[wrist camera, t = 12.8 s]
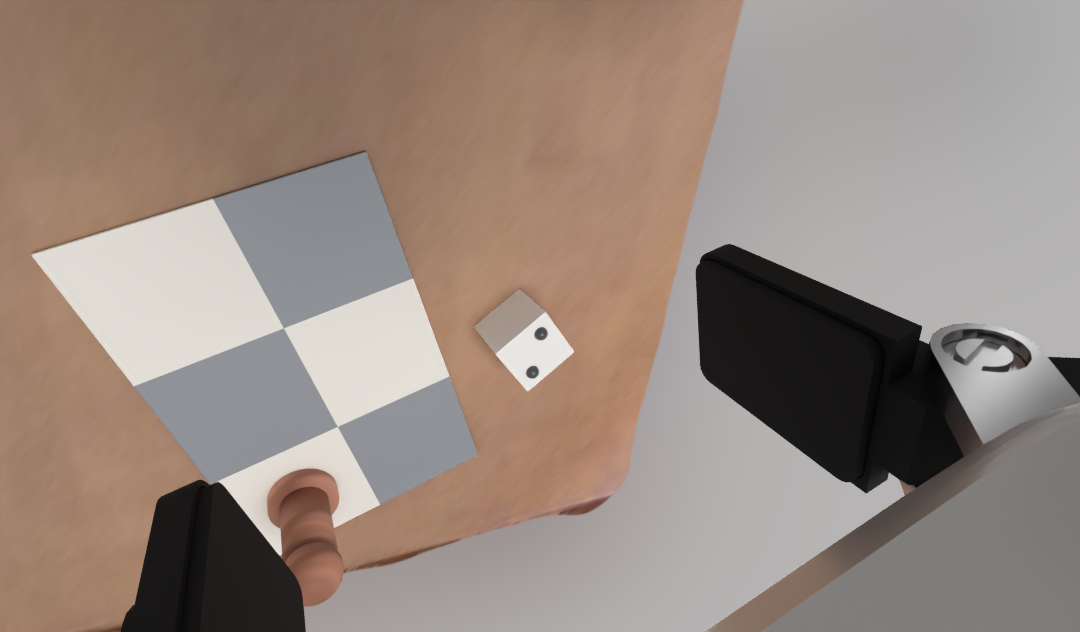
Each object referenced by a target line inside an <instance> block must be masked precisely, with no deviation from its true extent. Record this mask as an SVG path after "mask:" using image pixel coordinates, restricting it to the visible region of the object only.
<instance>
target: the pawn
mask: <svg viewBox="0 0 1080 632" xmlns="http://www.w3.org/2000/svg"><path fill="white" fill-rule="evenodd" d="M338 504H339V493H338V488H337V483H336V481H335V479H334V478H333V477H332V476H331V475H330V474H329V473H327V472H325V471H322V470H319V469H301V470H297V471H294V472H291V473H289V474H287V475H285V476H283V477H282V478H280V479H279V480H278V481H277V482H276V483H275V484H274V485H273V486H272V488H271V489H270V491H269V494H268V497H267V510H268V517H269V519H270V521H271V522H272V523H273V524H274V525H275V526H276V527H278V528H280V530H281V546H282V560H283V561H284V562H285V563H286V565H287V566H288V567H289V568H290V570H291V571H292V572H293V574H294V575H295V576H296V578H297V580H298V582H299V585H300V587H301V591H302V596H303V606H314V605H317V604H320V603H322V602H324V601H326V600H327V599H328V598H330V597H331V596H332V595H333V594H334V593H335V591H336V590H337V588H338V587H339V585H340V583H341V581H342V577H343V572H344V565H343V560H342V557H341V555H340V553H339V552H338V551H337V543H336V537H335V532H334V526H333V520H332V515H333V513H334V512H335V511H336V509H337V507H338Z"/></svg>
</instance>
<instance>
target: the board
mask: <svg viewBox="0 0 1080 632" xmlns="http://www.w3.org/2000/svg"><path fill="white" fill-rule="evenodd" d="M32 257H33V258H34V259H35V260H36V262H37V263H38V264H39V266H40V267H41V268H42V269H43V271H44V272H45V273H46V274H47V276H48V277H49V278H50V280H51V281H52V282H53V283H54V285H55V286H56V287H57V289H58V290H59V291H60V292H61V294H62V295H63V296H64V297H65V299H66V300H67V301H68V303H69V304H70V305H71V306H72V308H73V309H74V310H75V312H76V313H77V314H78V315H79V317H80V318H81V319H82V320H83V322H84V323H85V324H86V326H87V327H88V328H89V329H90V331H91V332H92V333H93V335H94V336H95V337H96V338H97V340H98V341H99V342H100V343H101V345H102V346H103V347H104V349H105V350H106V351H107V352H108V354H109V355H110V356H111V358H112V359H113V360H114V361H115V363H116V364H117V365H118V366H119V368H120V369H121V370H122V372H123V373H124V374H125V375H126V377H127V378H128V379H129V381H130V382H131V383H132V384H133V386H134V387H135V388H136V390H137V391H138V392H139V393H140V395H141V396H142V397H143V398H144V400H145V401H146V402H147V404H148V405H149V406H150V407H151V409H152V410H153V411H154V413H155V414H156V415H157V416H158V418H159V419H160V420H161V421H162V423H163V424H164V425H165V427H166V428H167V429H168V430H169V432H170V433H171V434H172V436H173V437H174V438H175V439H176V441H177V442H178V443H179V444H180V446H181V447H182V448H183V450H184V451H185V452H186V453H187V455H188V456H189V457H190V459H191V460H192V461H193V462H194V464H195V465H196V466H197V467H198V469H199V470H200V471H201V473H202V474H203V475H204V476H205V478H206V479H207V480H208V482H209V483H210V484H213V483H215V482H220V483H221V484H223V485H224V487H225V488H226V489H227V490H228V491H229V493H230V494H231V495H232V496H233V498H234V499H235V500H236V502H237V503H238V504H239V505H240V507H241V508H242V509H243V510H244V512H245V513H246V514H247V515H248V517H249V518H250V519H251V520H252V522H253V523H254V524H255V526H256V527H257V528H258V529H259V531H260V532H261V533H262V534H263V536H264V537H265V538H266V539H267V541H268V542H269V543H270V544H271V546H272V547H273V548H274V550H275V551H276V552H277V553H278V555H279V556H280V555H282V546H281V530H280V528H278V527H276V526H275V525H274V524H273V523H272V522H271V521H270V519H269V517H268V510H267V497H268V494H269V491H270V489H271V488H272V486H273V485H274V484H275V483H276V482H277V481H278V480H279V479H280V478H282V477H283V476H285V475H287V474H289V473H291V472H294V471H297V470H301V469H319V470H322V471H325V472H327V473H329V474H330V475H331V476H332V477H333V478H334V479H335V481H336V483H337V488H338V493H339V504H338V507H337V509H336V511H335V512H334V513H333V515H332V520H333V526H334V528H335V527H337V526H339V525H341V524H343V523H345V522H347V521H349V520H351V519H353V518H355V517H357V516H359V515H361V514H363V513H365V512H367V511H369V510H371V509H373V508H375V507H377V506H378V505H380V504H382V503H384V502H386V501H388V500H390V499H392V498H394V497H396V496H398V495H400V494H402V493H404V492H406V491H408V490H410V489H412V488H414V487H416V486H418V485H420V484H422V483H424V482H426V481H428V480H430V479H432V478H434V477H436V476H438V475H440V474H442V473H444V472H446V471H448V470H450V469H452V468H454V467H456V466H458V465H460V464H461V463H463V462H465V461H467V460H469V459H471V458H473V457H475V456H477V455H478V452H477V450H476V447H475V444H474V442H473V439H472V436H471V434H470V431H469V428H468V425H467V423H466V420H465V417H464V415H463V412H462V409H461V406H460V404H459V401H458V398H457V396H456V393H455V390H454V388H453V385H452V382H451V379H450V377H449V374H448V371H447V369H446V366H445V363H444V360H443V358H442V355H441V352H440V350H439V347H438V344H437V342H436V339H435V336H434V333H433V331H432V328H431V325H430V323H429V320H428V317H427V314H426V312H425V309H424V306H423V304H422V301H421V298H420V296H419V293H418V290H417V287H416V285H415V282H414V279H413V277H412V274H411V271H410V268H409V266H408V263H407V260H406V258H405V255H404V252H403V250H402V247H401V244H400V241H399V239H398V236H397V233H396V231H395V228H394V225H393V222H392V220H391V217H390V214H389V212H388V209H387V206H386V204H385V201H384V198H383V195H382V193H381V190H380V187H379V185H378V182H377V179H376V176H375V174H374V171H373V168H372V166H371V163H370V160H369V158H368V155H367V152H366V151H364V152H361V153H357V154H354V155H351V156H348V157H344V158H341V159H338V160H335V161H331V162H328V163H325V164H321V165H318V166H315V167H312V168H308V169H305V170H302V171H299V172H295V173H292V174H289V175H286V176H282V177H279V178H276V179H273V180H269V181H266V182H263V183H260V184H256V185H253V186H250V187H246V188H243V189H240V190H237V191H233V192H230V193H227V194H224V195H220V196H217V197H214V198H211V199H207V200H204V201H201V202H198V203H194V204H191V205H188V206H185V207H181V208H178V209H175V210H171V211H168V212H165V213H162V214H158V215H155V216H152V217H149V218H145V219H142V220H139V221H136V222H132V223H129V224H126V225H123V226H119V227H116V228H113V229H110V230H106V231H103V232H100V233H96V234H93V235H90V236H87V237H83V238H80V239H77V240H74V241H70V242H67V243H64V244H61V245H57V246H54V247H51V248H48V249H44V250H41V251H38V252H35V253H33V254H32Z"/></svg>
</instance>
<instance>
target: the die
mask: <svg viewBox="0 0 1080 632" xmlns="http://www.w3.org/2000/svg"><path fill="white" fill-rule="evenodd" d="M474 328H475V329H476V331H477V332H478V333H479V334H480V336H481V337H482V338H483V339H484V341H485V342H486V343H487V344H488V346H489V347H490V348H491V349H492V351H493V352H494V353H495V354H496V356H497V357H498V358H499V359H500V360H501V361H502V362H503V364H504V365H505V366H506V367H507V368H508V369H509V371H510V372H511V373H512V374H513V375H514V376H515V378H516V379H517V380H518V381H519V382H520V383H521V384H522V386H523V387H524V388H525V389H526V390H527V391H529V390H530V389H531V388H533V387H534V386H535V385H536V384H537V383H538V382H540V381H541V380H542V379H543V378H544V377H545V376H547V375H548V374H549V373H550V372H551V371H552V370H554V369H555V368H556V367H557V366H558V365H559V364H561V363H562V362H563V361H564V360H565V359H566V358H568V357H569V356H570V355H571V354H572V353H573V352H574V351H573V349H572V348H571V347H570V345H569V344H568V342H567V341H566V340H565V338H564V337H563V335H562V334H561V333H560V331H559V330H558V328H557V327H556V326H555V324H554V323H553V322H552V320H551V319H550V317H549V316H548V315H547V313H546V312H545V311H544V310H543V309H542V308H541V307H540V306H538V305H537V304H536V303H535V302H534V301H533V300H532V299H531V298H529V297H528V296H527V295H526V294H525V293H524V292H523V291H522V290H521V289H518V290H517V291H516V292H515V293H513V294H512V295H511V296H510V297H509V298H507V299H506V300H505V301H504V302H503V303H501V304H500V305H499V306H498V307H497V308H495V309H494V310H493V311H492V312H491V313H489V314H488V315H487V316H486V317H485V318H483V319H482V320H481V321H480V322H479V323H477V324H476V325H475V326H474Z"/></svg>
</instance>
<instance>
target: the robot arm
mask: <svg viewBox="0 0 1080 632" xmlns="http://www.w3.org/2000/svg"><path fill="white" fill-rule="evenodd" d="M696 288H697V307H698V329H699V348H700V366H701V370H702V373H703V375H704V376H705V378H706V379H707V380H708V381H709V382H710V383H712V384H713V385H714V386H716V387H717V388H718V389H719V390H721V391H722V392H724V393H725V394H726V395H728V396H729V397H730V398H731V399H733V400H734V401H735V402H737V403H738V404H739V405H741V406H742V407H743V408H745V409H746V410H747V411H749V412H750V413H751V414H753V415H754V416H755V417H757V418H758V419H759V420H761V421H762V422H763V423H765V424H766V425H767V426H768V427H770V428H771V429H773V430H774V431H775V432H777V433H778V434H779V435H780V436H782V437H783V438H784V439H786V440H787V441H788V442H790V443H791V444H792V445H794V446H795V447H796V448H798V449H799V450H800V451H802V452H803V453H804V454H806V455H807V456H808V457H810V458H811V459H812V460H813V461H815V462H816V463H817V464H819V465H820V466H821V467H823V468H824V469H826V470H827V471H828V472H830V473H831V474H832V475H833V476H835V477H836V478H838V479H839V480H841V481H844V482H851V483H853V484H854V485H855V486H857V487H858V488H859V489H861V490H862V491H864V492H865V493H868V492H869V491H871V490H872V489H874V488H875V487H877V486H878V485H880V484H881V483H883V482H884V481H886V480H887V478H888V474H889V473H891V474H892V475H894V476H895V477H897V478H898V479H899V480H900V483H901V485H902V488H903V491H904V494H905V496H904V497H902V498H901V499H899V500H898V501H896V502H895V503H893V504H892V505H890V506H889V507H888V508H886V509H885V510H883V511H882V512H880V513H879V514H877V515H876V516H874V517H873V518H872V519H870V520H868V521H867V522H865V523H864V524H863V525H861V526H860V527H858V528H857V529H855V530H854V531H852V532H851V533H849V534H848V535H846V536H845V537H843V538H842V539H840V540H839V541H838V542H836V543H834V544H833V545H832V546H830V547H829V548H827V549H826V550H824V551H823V552H821V553H820V554H818V555H817V556H815V557H814V558H812V559H811V560H809V561H808V562H806V563H805V564H804V565H802V566H801V567H799V568H798V569H796V570H795V571H793V572H792V573H791V574H789V575H788V576H786V577H785V578H783V579H782V580H780V581H779V582H778V583H776V584H774V585H773V586H771V587H770V588H769V589H767V590H766V591H764V592H763V593H761V594H760V595H758V596H757V597H756V598H754V599H753V600H751V601H750V602H748V603H747V604H745V605H744V606H742V607H741V608H739V609H738V610H736V611H735V612H734V613H732V614H731V615H729V616H728V617H726V618H725V619H724V620H722V621H720V622H719V623H718V624H716V625H715V626H713V627H712V628H710V629H709V630H707V631H706V632H1080V358H1060V357H1047V356H1046V355H1045V353H1044V352H1043V351H1042V350H1041V349H1040V348H1039V347H1038V346H1037V345H1036V344H1035V343H1033V342H1032V341H1031V340H1030V339H1027V338H1026V337H1024V336H1022V335H1020V334H1018V333H1016V332H1013V331H1010V330H1007V329H1004V328H1001V327H996V326H991V325H986V324H971V323H964V324H954V325H950V326H947V327H944V328H941V329H939V330H938V331H936V332H935V333H934V334H933V335H932V337H931V339H930V342H929V344H927V343H924V342H923V341H920V340H919V338H920V334H921V329H922V326H920V325H918V324H916V323H913V322H911V321H909V320H906V319H904V318H902V317H899V316H897V315H894V314H892V313H890V312H888V311H885V310H883V309H881V308H878V307H876V306H874V305H871V304H869V303H867V302H864V301H862V300H860V299H857V298H855V297H853V296H851V295H848V294H846V293H843V292H841V291H839V290H837V289H834V288H832V287H830V286H827V285H825V284H823V283H820V282H818V281H816V280H813V279H811V278H809V277H806V276H804V275H802V274H799V273H797V272H795V271H792V270H790V269H788V268H786V267H783V266H781V265H778V264H776V263H774V262H772V261H769V260H767V259H765V258H762V257H760V256H758V255H755V254H753V253H750V252H748V251H746V250H743V249H741V248H739V247H736V246H734V245H731V244H727V245H724V246H722V247H719V248H717V249H715V250H713V251H710V252H708V253H706V254H704V255H703V256H702V257H701V260H700V264H699V265H698V266H697V268H696ZM121 632H306V630H305V618H304V606H303V596H302V591H301V587H300V585H299V582H298V580H297V578H296V576H295V575H294V574H293V572H292V571H291V570H290V568H289V567H288V566H287V565H286V563H285V562H284V561H283V560H282V558H281V557H280V556H279V555H278V553H277V552H276V551H275V550H274V548H273V547H272V546H271V544H270V543H269V542H268V541H267V539H266V538H265V537H264V536H263V534H262V533H261V532H260V531H259V529H258V528H257V527H256V526H255V524H254V523H253V522H252V520H251V519H250V518H249V517H248V515H247V514H246V513H245V512H244V510H243V509H242V508H241V507H240V505H239V504H238V503H237V502H236V500H235V499H234V498H233V496H232V495H231V494H230V493H229V491H228V490H227V489H226V488H225V487H224V485H223V484H221V483H220V482H215V483H213V484H211V485H209V484H208V483H207V482H205V481H203V480H197V481H195V482H193V483H191V484H188V485H186V486H184V487H182V488H179V489H177V490H175V491H173V492H170V493H168V494H166V495H164V496H162V497H160V498H159V499H158V501H157V504H156V508H155V513H154V517H153V522H152V527H151V531H150V536H149V541H148V545H147V550H146V555H145V559H144V564H143V569H142V573H141V578H140V583H139V587H138V592H137V597H136V601H135V605H133V606H132V607H131V608H130V610H129V611H128V612H127V613H126V616H125V619H124V621H123V624H122V628H121Z"/></svg>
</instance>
